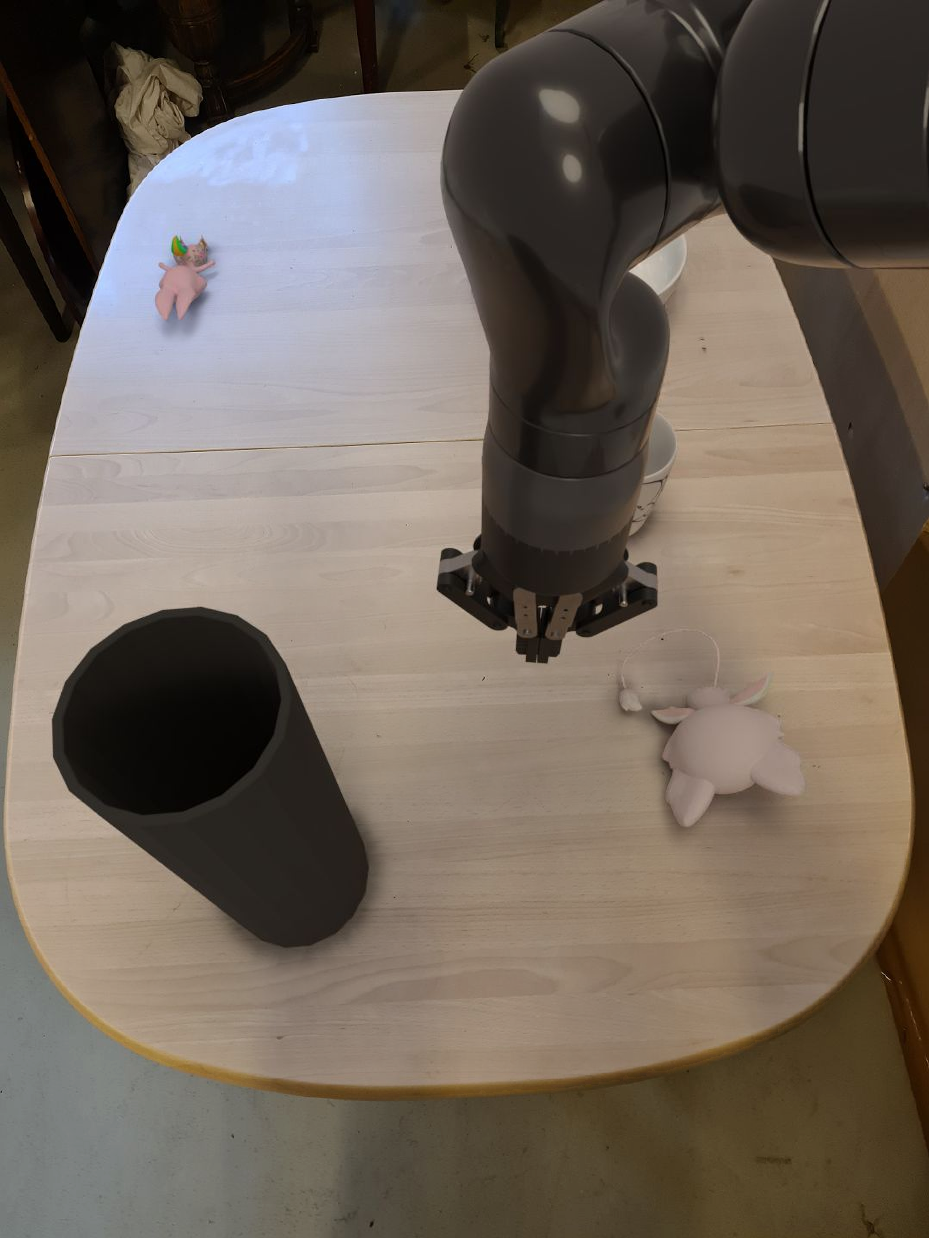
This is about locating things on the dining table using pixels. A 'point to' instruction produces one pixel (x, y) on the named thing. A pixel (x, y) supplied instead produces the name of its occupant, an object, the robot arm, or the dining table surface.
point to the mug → (655, 468)
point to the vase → (214, 770)
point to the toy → (722, 746)
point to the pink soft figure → (182, 278)
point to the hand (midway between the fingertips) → (537, 650)
